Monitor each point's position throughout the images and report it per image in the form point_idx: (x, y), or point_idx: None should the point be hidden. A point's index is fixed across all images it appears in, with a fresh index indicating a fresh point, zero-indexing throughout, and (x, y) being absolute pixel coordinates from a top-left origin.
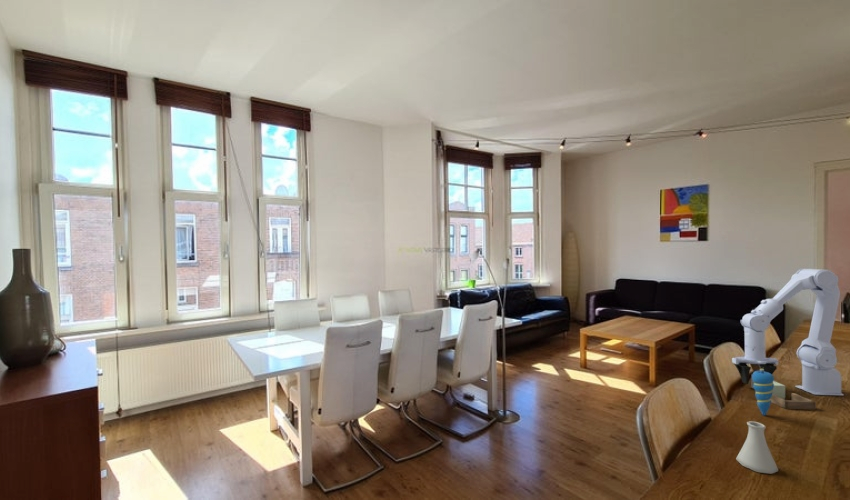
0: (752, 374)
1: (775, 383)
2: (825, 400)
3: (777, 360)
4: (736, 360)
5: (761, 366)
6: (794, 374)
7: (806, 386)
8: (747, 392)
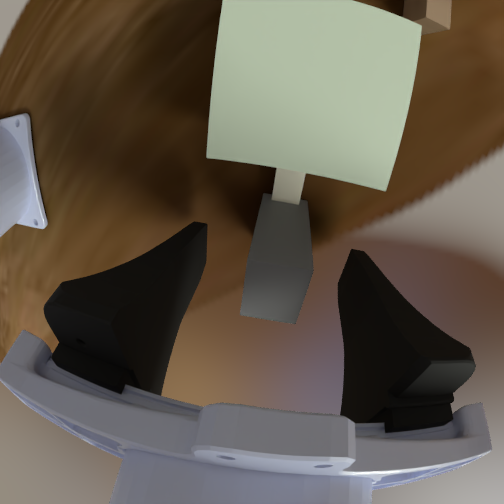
0: (296, 314)
1: (278, 55)
2: (38, 42)
3: (3, 371)
4: (487, 437)
5: (158, 374)
6: (26, 318)
7: (15, 177)
8: (420, 173)
